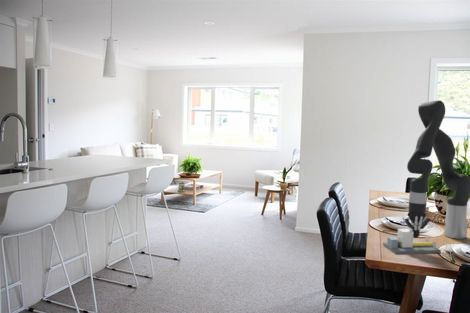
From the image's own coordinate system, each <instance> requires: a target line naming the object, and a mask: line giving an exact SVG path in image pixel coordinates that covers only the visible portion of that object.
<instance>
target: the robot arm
mask: <svg viewBox="0 0 470 313" xmlns="http://www.w3.org/2000/svg"><path fill="white" fill-rule="evenodd" d="M417 110H418V111H417V112H418V116H419V118H420V121H421V122H422V125H423V126H424V128H425V129H424V130H423V131H422V133H421V134H420V135H419V137H418V139H417V143H416V146H415V150H414V152H413V154H412V155H411V157H410V158H409V160H408V161H407V165H406V166H407V167H406V168H407V171H408V172H409V173H410V174H417V175H419V174H420V175H422V176H421V177H420V178H418V177H417V178H413V179H411V180H410V185H409V186H410V189H409V196H408V213H407V215H406V216H405V217H402V221H403V222H404V223H405V224H406V226H407V228H408V229H410V230H411V231H413V232H414V234H413V239H414V238H415V239H418V238H419V237H420V230H423V229H425V227H426V226H427V225H428V224H429V222H430V221H431V218H430V217H428V216H427V214H426V211H427V199H428V196H427V188H428V183H429V182H428V181H429V178H430V176H431V173H432V171H433V168H434V165H433V162H432V160H430V159H428V158H429V157H430V156H431V155H432V153H433V152H432V151H434V153H435V156H436V158H437V162H438V164H439V167H440V169H441V174H442V179H443V182H444V185H445V188H447V189H448V190H450V191H454V192H455V193H454V196H450V197H448V198H447V200H446V212H445V213H446V214H445V225H444V227H445V228H444V236H445V237H448V238H451V239H455V240H456V239H457V240H458V239H459V240H462V239H467V234H468V222H469V220H468V219H467V210H468V209H467V208H468V202H469V199H470V176H469V175H468V174H464V173H458V172H456V170H455V167H454V159H455V156H456V147H455V145H454V142H453V140H452V138H451V137H450V136H449V135H448V134H447V133H446V132H444V131H443V130H442V129H441V125H442V123H443V120H444V118H445V114H446V106H445V103H444V102H443V101H442V100H440V99H439V100H433V101H426V102H422V103H420V104H419V105H418V109H417Z"/></svg>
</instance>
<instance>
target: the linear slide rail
mask: <svg viewBox="0 0 470 313" xmlns="http://www.w3.org/2000/svg"><path fill="white" fill-rule="evenodd" d="M429 239H430V238H429V236H425V241H413V247H407V248H402V247H401V243H400V242H398V240H397V237H394V236H387V240H386V241H387V242H383V243H382V244H383V246H384V247H385V248H386V249H388V250H390V251H391V252H392V253H393V254H396V255H397V254H398V255H399V254H434V253H435V254H437V253H438V254H440V253H442V249H440V248H438V247H437V241H436V240H432V241H429Z"/></svg>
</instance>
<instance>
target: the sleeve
mask: <svg viewBox="0 0 470 313" xmlns="http://www.w3.org/2000/svg"><path fill="white" fill-rule="evenodd" d="M396 234H397V236H396V239H397V240H398V242H400V243H401V247H402V248H407V247H413V242H414V237H413V234H414V232H413V231H412V229H410V228H397V233H396Z"/></svg>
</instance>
